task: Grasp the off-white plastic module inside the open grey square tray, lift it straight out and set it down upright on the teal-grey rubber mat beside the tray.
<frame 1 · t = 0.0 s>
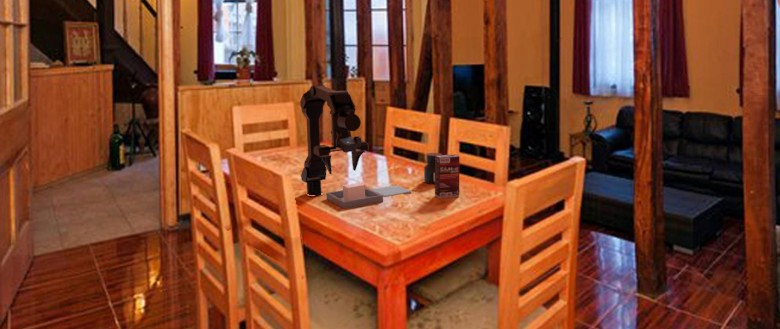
hand: (342, 172, 193), 15 cm above the table, tool pointing down, fingers open, 9 cm apart
grey square tray: (354, 201, 209), on the table
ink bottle: (434, 182, 236), on the table
module: (354, 200, 209), resting in grey square tray
supplement box: (447, 196, 213), on the table
mat: (390, 192, 221), on the table
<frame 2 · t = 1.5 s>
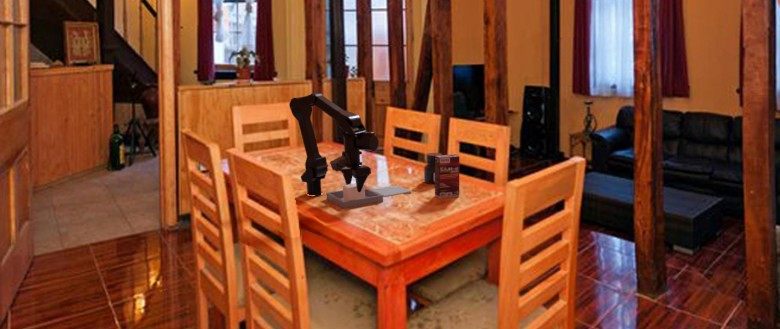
hand: (353, 189, 209), 5 cm above the table, tool pointing down, fingers open, 9 cm apart
nothing on the table moved.
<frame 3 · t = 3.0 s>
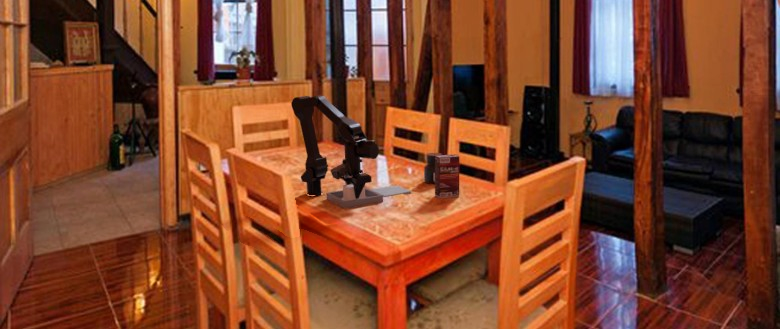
hand: (354, 197, 209), 2 cm above the table, tool pointing down, fingers closed on module, 4 cm apart
module: (354, 200, 209), resting in grey square tray, touching gripper
everything else where it was.
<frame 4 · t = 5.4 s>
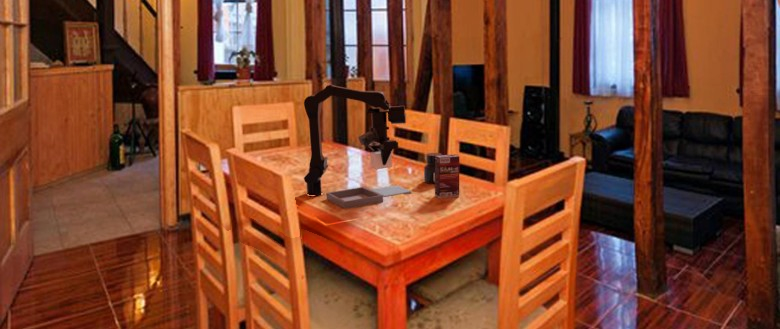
hand: (381, 164, 216), 12 cm above the table, tool pointing down, fingers closed on module, 4 cm apart
module: (381, 167, 216), point 11 cm above the table, touching gripper
everything else where it was.
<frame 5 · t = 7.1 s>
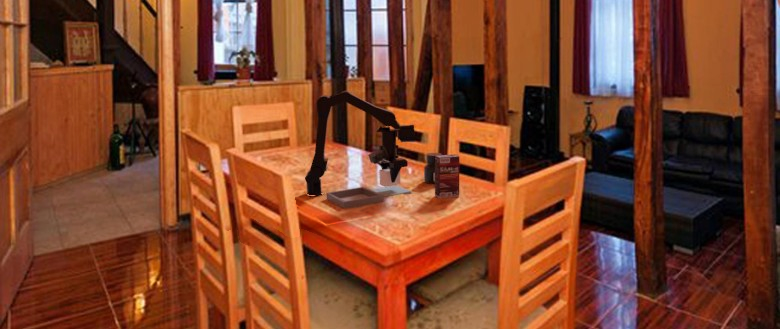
hand: (390, 181, 220), 5 cm above the table, tool pointing down, fingers closed on module, 4 cm apart
module: (390, 184, 221), point 3 cm above the table, touching gripper
everything else where it was.
when the fingers open (3 cm above the table, at t = 8.2 s): module drops 1 cm, resting on mat.
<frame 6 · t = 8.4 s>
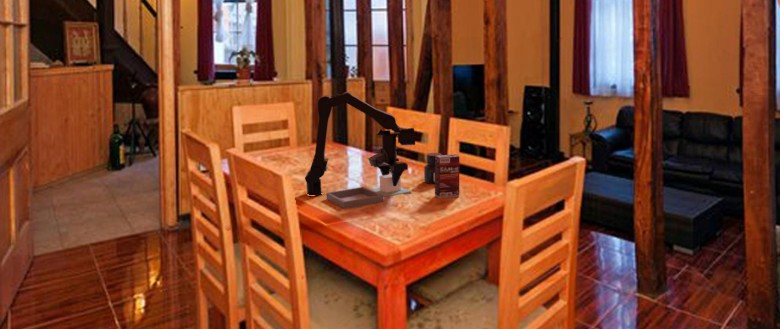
hand: (390, 184, 221), 3 cm above the table, tool pointing down, fingers open, 7 cm apart
module: (390, 190, 221), point 1 cm above the table, touching mat
everything else where it was.
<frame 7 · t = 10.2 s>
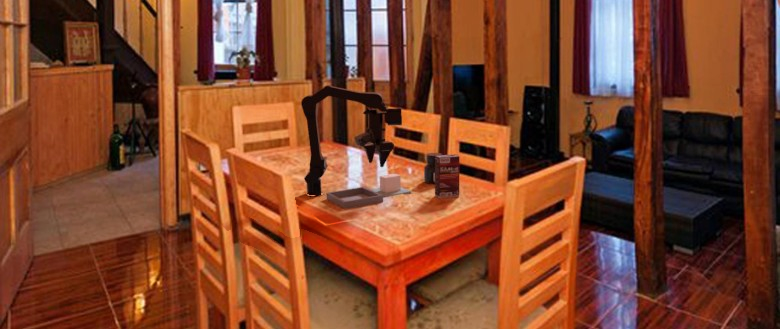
hand: (376, 164, 217), 12 cm above the table, tool pointing down, fingers open, 9 cm apart
nothing on the table moved.
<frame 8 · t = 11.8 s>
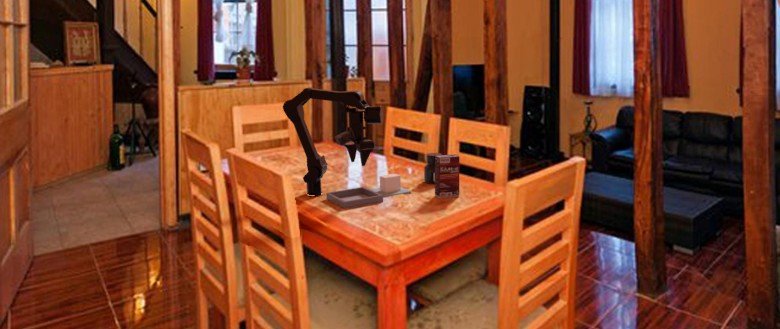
hand: (358, 163, 214), 13 cm above the table, tool pointing down, fingers open, 9 cm apart
nothing on the table moved.
at the end: module inside the target area (0.0 cm from its centre), point 0.8 cm above the table; module tilted 0°; the gripper is holding nothing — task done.
